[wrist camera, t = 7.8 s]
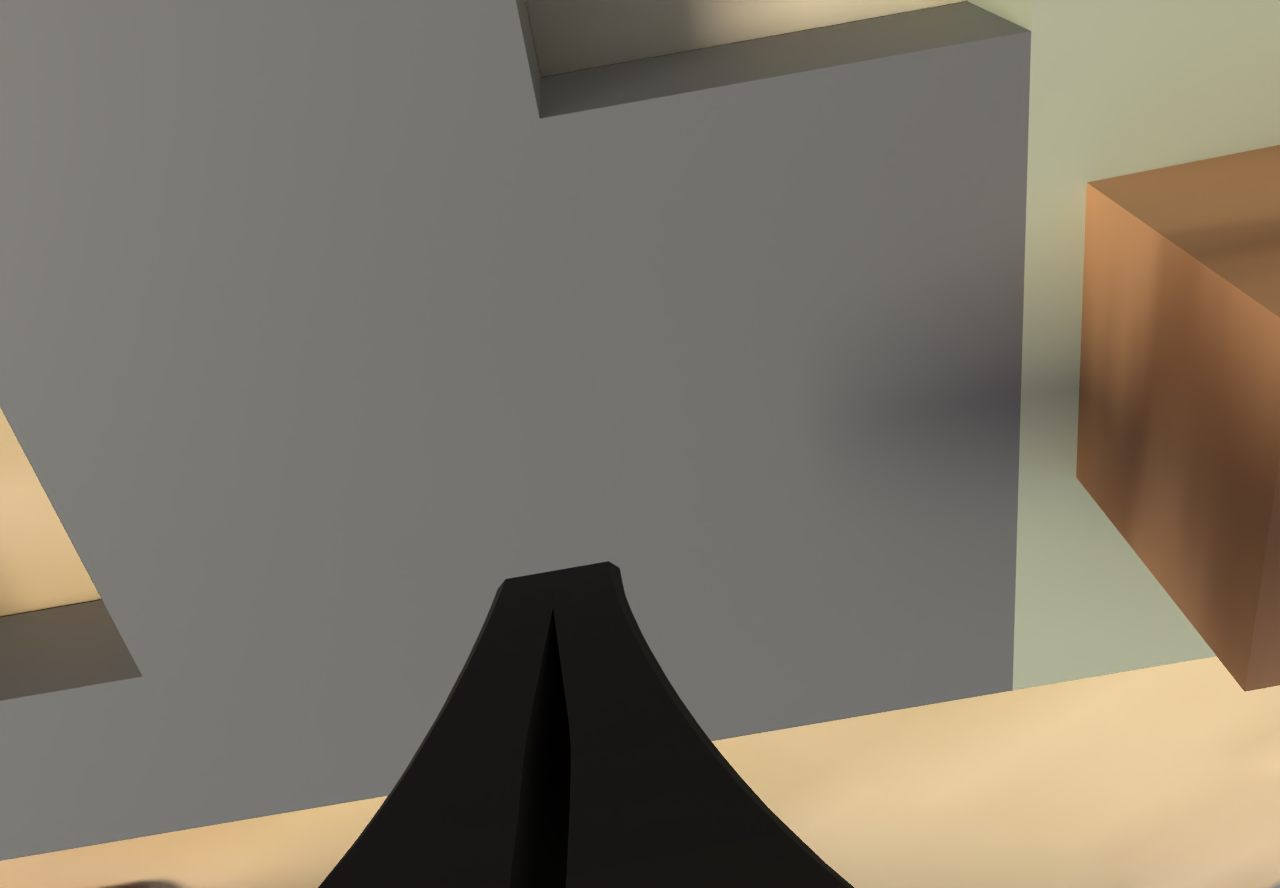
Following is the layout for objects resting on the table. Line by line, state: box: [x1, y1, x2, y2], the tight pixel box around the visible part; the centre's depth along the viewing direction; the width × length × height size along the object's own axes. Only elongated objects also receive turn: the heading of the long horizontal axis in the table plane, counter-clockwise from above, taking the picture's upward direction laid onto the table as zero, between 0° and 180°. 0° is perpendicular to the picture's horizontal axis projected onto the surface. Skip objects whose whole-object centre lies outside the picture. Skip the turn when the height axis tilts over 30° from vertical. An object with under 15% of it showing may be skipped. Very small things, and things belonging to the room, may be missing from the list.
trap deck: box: [0, 0, 1280, 861], centre depth 16 cm, size 20×30×4 cm, turn 99°
